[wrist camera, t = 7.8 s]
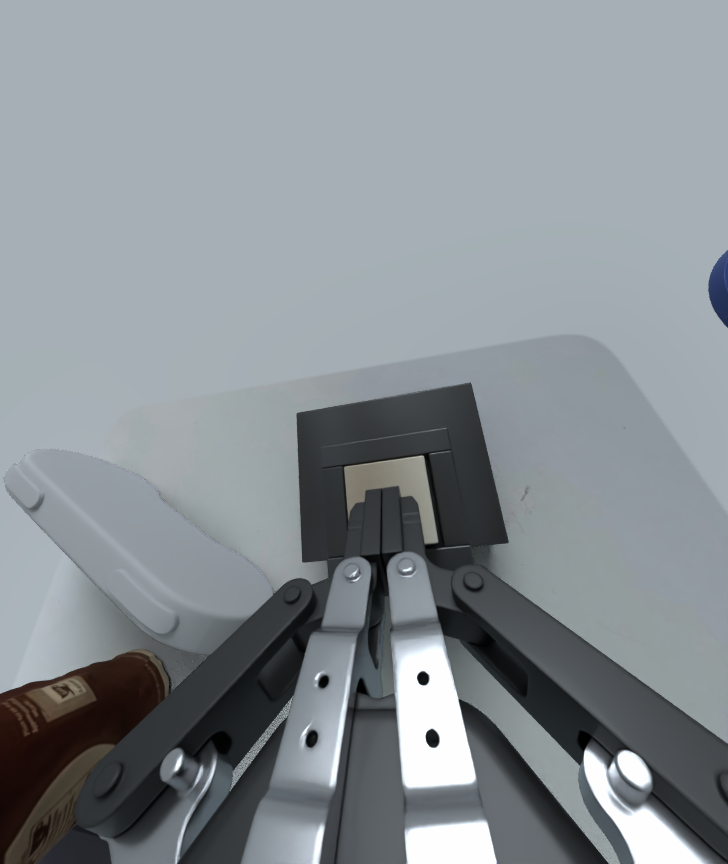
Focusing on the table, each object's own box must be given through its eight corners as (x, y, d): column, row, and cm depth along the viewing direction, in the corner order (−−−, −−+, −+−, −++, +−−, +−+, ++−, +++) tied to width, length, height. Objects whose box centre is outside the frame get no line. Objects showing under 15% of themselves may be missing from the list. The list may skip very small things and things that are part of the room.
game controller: (105, 483, 26) (-33, 467, 18) (122, 460, 26) (-7, 434, 18) (277, 627, 20) (182, 695, 12) (295, 595, 20) (214, 641, 12)
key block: (462, 407, 22) (476, 367, 16) (495, 554, 19) (525, 569, 13) (317, 431, 23) (283, 402, 18) (326, 569, 20) (288, 588, 15)
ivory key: (424, 462, 16) (423, 455, 14) (437, 540, 15) (438, 543, 13) (352, 472, 17) (343, 466, 15) (359, 548, 16) (350, 551, 14)
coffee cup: (211, 712, 19) (-161, 1044, 7) (116, 822, 19) (-479, 1404, 6) (145, 604, 22) (-200, 707, 10) (61, 696, 21) (-421, 929, 9)
